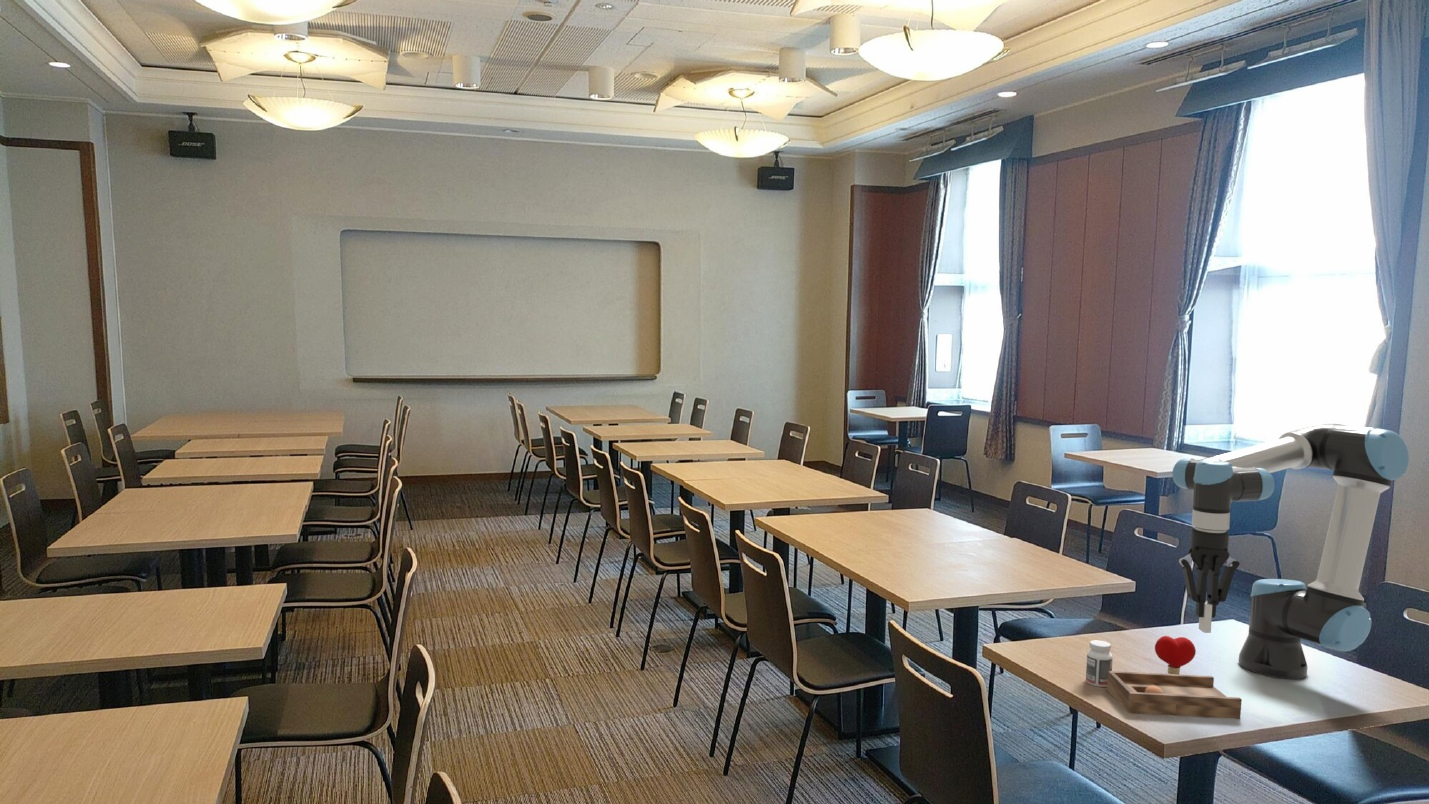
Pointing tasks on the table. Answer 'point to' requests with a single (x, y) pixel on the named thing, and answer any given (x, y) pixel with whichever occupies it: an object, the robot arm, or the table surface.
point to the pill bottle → (1098, 663)
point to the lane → (1172, 695)
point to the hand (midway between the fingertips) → (1204, 630)
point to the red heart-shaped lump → (1175, 652)
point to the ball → (1153, 689)
